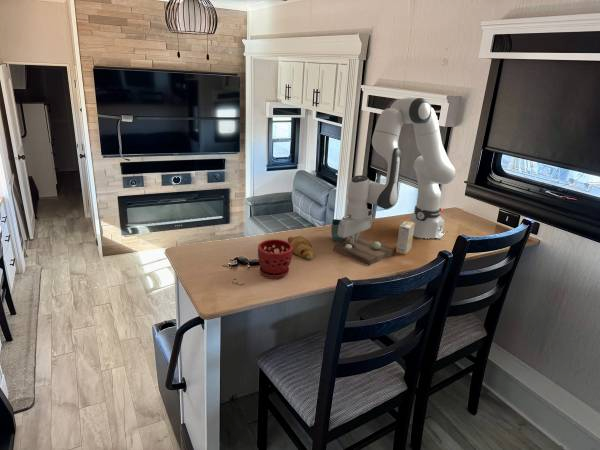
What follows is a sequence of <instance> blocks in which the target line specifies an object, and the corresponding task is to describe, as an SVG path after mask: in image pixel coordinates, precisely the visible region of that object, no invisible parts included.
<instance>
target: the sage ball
mask: <svg viewBox="0 0 600 450" xmlns="http://www.w3.org/2000/svg"><path fill="white" fill-rule="evenodd" d="M374 242H375V243H374V244H373V247H374V248H375V249H380V248H381V245H382V244H381V242H379V241H374Z"/></svg>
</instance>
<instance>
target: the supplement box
mask: <svg viewBox="0 0 600 450" xmlns="http://www.w3.org/2000/svg"><path fill="white" fill-rule="evenodd" d="M414 226H415V223H413V222H410V221H408V220H404V221H403V222H402V223H401V224H400V225H399V228H398V236H397V242H396V243H397V244H396V251H395V253H396V254H401V255H404V256H406V255H407V254H409V252H410V251H411V249H412V245H413V238H414V236H413V233H414Z"/></svg>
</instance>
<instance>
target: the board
mask: <svg viewBox="0 0 600 450" xmlns="http://www.w3.org/2000/svg"><path fill="white" fill-rule="evenodd" d="M375 242H376V241H373V240H370V239H367V238H364V237H361V236H360V235H359V236H358V238H357V242H354V243H350V238H349V239H347V240H346V241H343V242H338V243H336V244H333V245H332V252H335V253H338V254H341V255H343V256H345V257H347V258H350V259H352V260H355V261H357V262H360V263H362V264H365V265H367V266H368V267H369V266H371V265H374V264H376V263H378V262H380V261H382V260H384V259H386V258H389V257H390V256H393V255H394V252H395V249H394V248H391V247H389V246H387V245H384V244H381V248H380V249H375V248H374V247H373V244H374V243H375ZM347 244H350V245H351V246H352V248H351V249H349V248H346V247H345V245H347Z"/></svg>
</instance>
